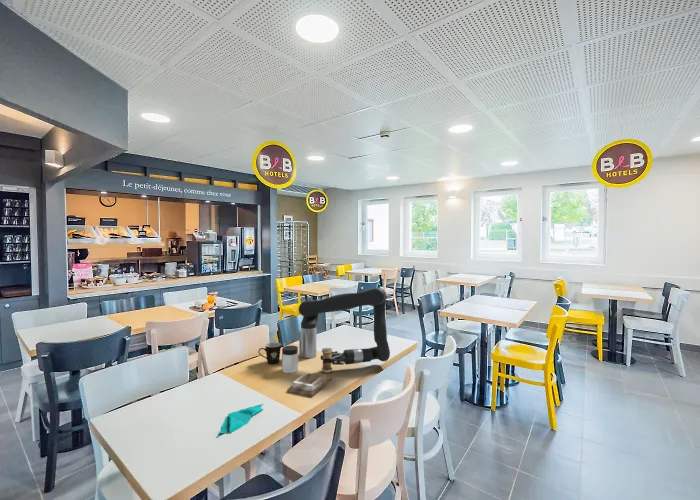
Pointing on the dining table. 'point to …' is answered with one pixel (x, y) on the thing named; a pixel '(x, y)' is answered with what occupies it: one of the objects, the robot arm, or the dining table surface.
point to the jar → (289, 359)
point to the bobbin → (326, 354)
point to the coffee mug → (272, 352)
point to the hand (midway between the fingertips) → (321, 359)
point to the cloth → (239, 419)
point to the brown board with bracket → (308, 384)
